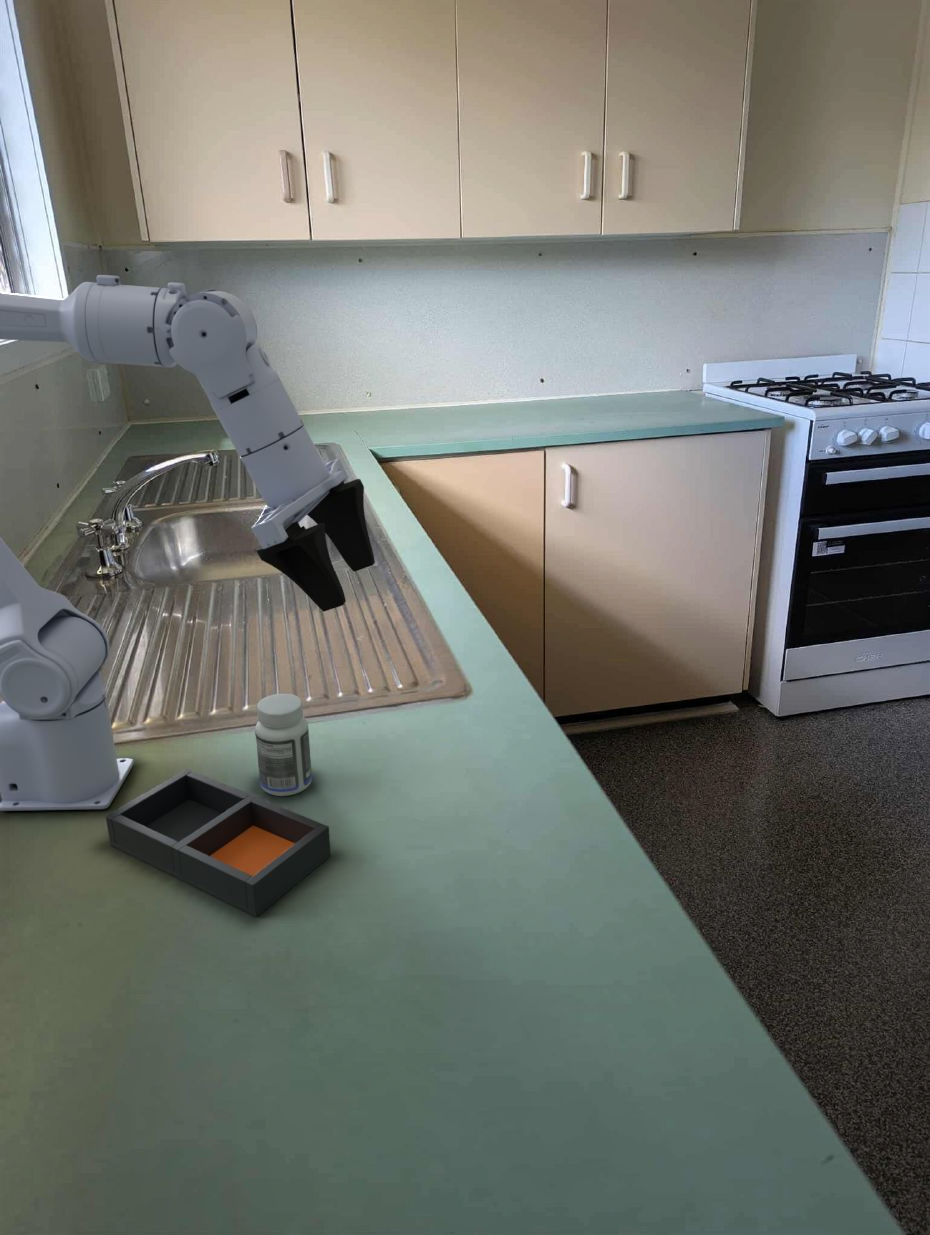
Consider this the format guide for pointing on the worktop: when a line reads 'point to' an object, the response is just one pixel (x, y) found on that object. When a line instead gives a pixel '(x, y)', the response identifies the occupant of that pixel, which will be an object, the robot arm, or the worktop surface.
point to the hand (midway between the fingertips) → (350, 586)
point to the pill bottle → (283, 745)
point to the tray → (220, 840)
